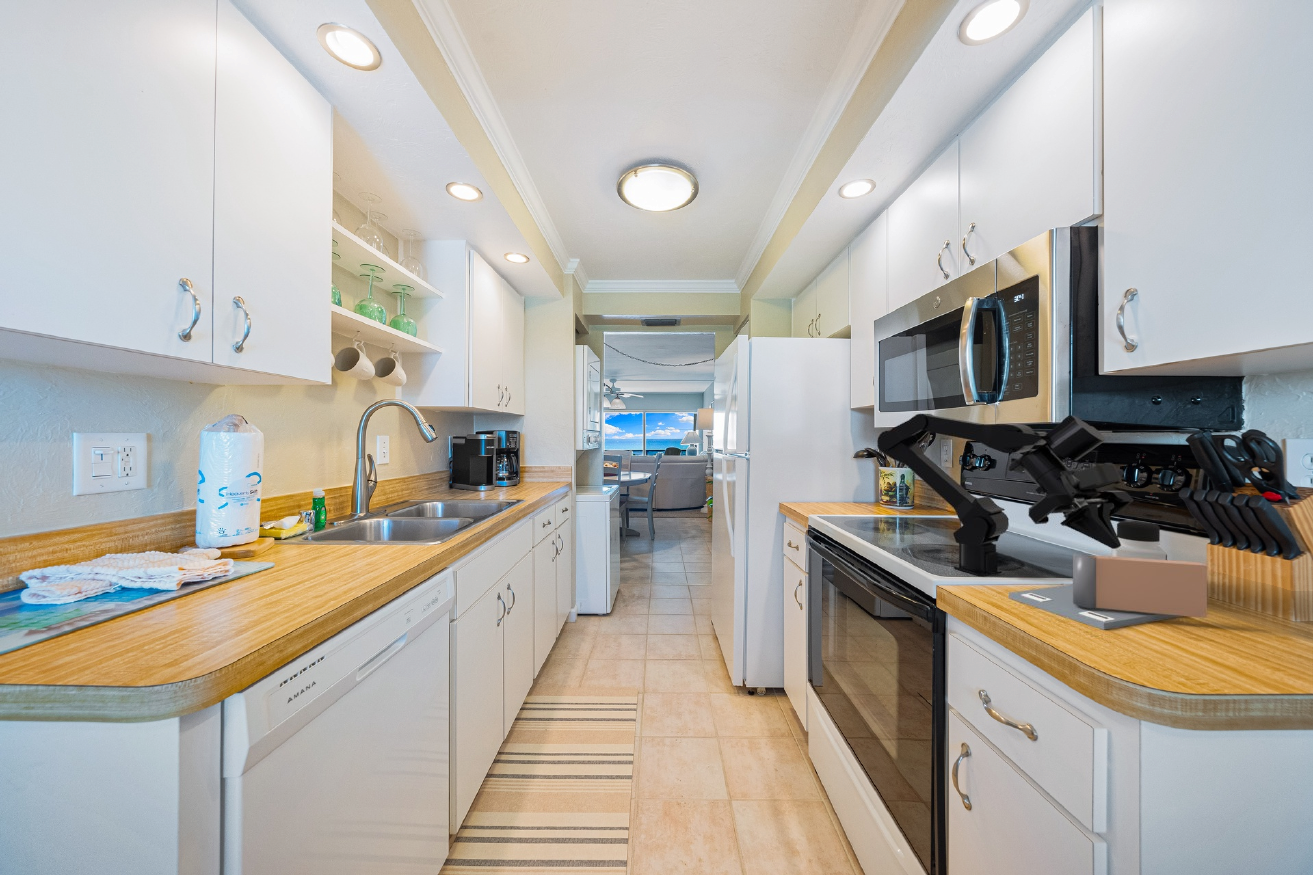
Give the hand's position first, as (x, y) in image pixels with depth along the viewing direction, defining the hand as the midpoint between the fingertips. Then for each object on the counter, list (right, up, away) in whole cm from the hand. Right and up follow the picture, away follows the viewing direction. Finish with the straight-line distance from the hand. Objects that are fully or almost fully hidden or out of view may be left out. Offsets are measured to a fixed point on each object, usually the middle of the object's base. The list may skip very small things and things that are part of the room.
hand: (1117, 547), depth 85 cm
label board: (-4, -10, 0) cm, 11 cm away
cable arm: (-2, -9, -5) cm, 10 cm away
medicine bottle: (+16, -10, +13) cm, 23 cm away
